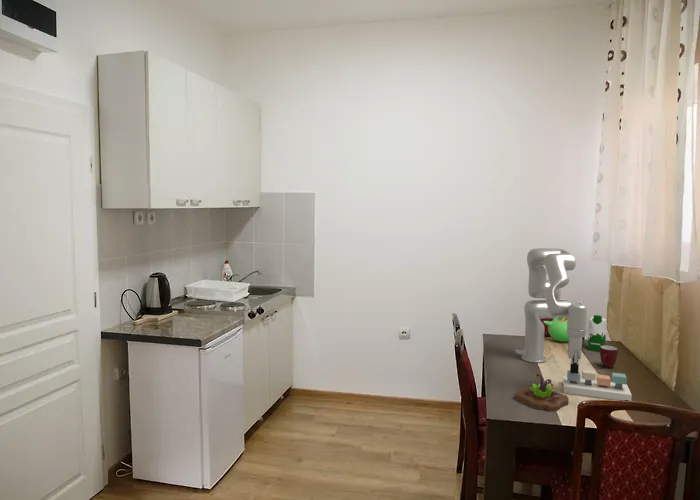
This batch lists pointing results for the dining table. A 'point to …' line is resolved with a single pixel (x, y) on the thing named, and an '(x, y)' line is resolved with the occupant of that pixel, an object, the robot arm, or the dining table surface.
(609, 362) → the mug
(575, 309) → the robot arm
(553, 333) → the toy bird
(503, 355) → the dining table surface
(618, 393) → the keypad base
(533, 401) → the plant
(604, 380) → the key
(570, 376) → the key
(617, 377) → the key
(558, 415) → the dining table surface
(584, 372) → the key
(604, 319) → the milk carton
